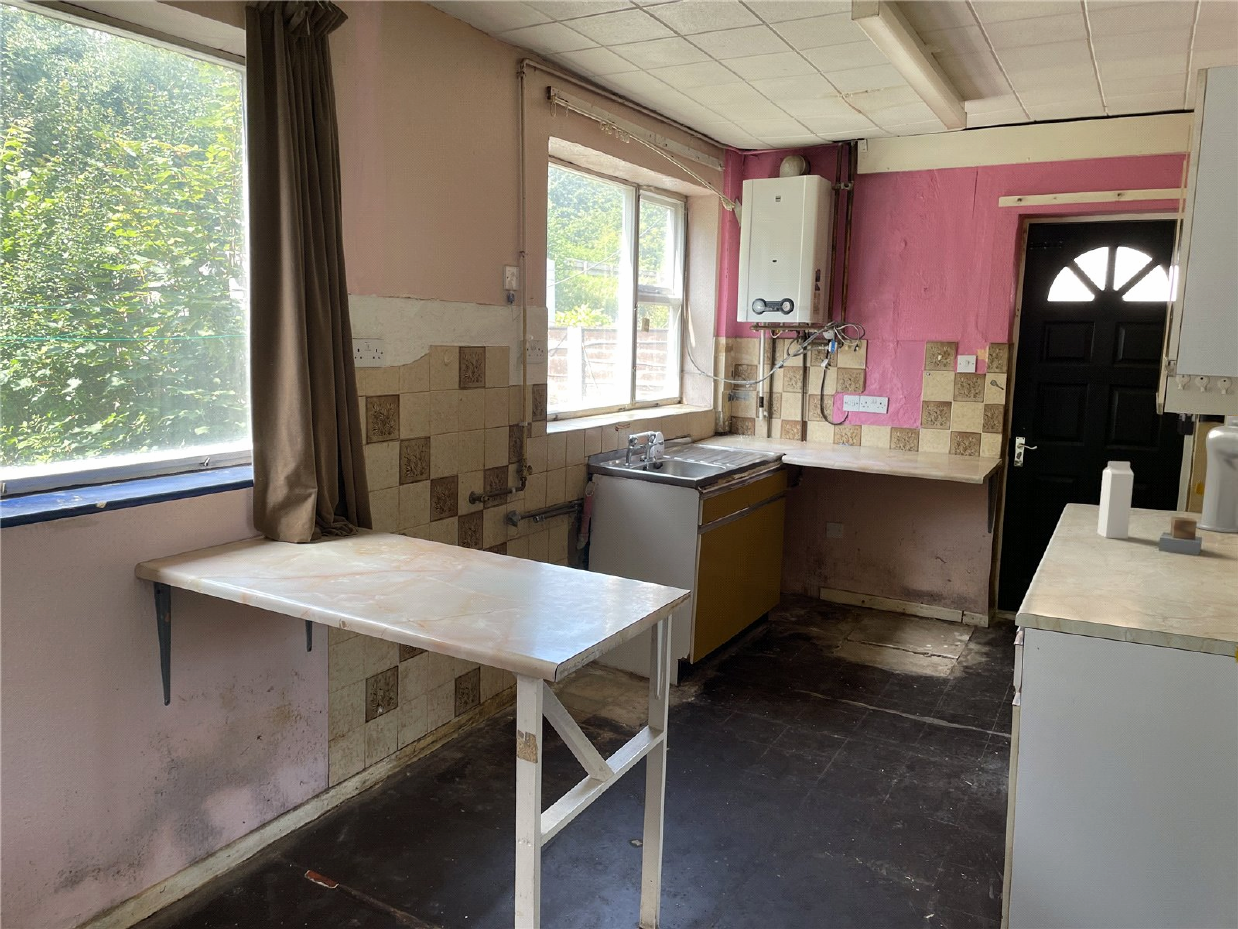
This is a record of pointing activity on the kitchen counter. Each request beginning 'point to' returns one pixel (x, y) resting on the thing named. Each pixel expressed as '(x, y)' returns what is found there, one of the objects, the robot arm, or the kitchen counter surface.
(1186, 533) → the walnut cube
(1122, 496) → the milk
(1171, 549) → the grey slab
